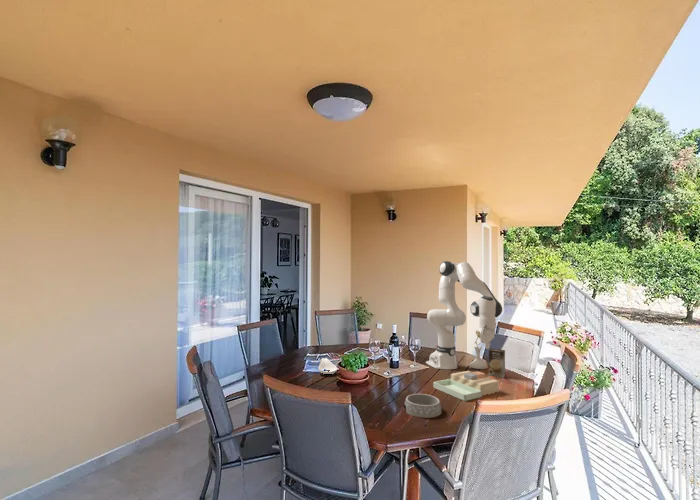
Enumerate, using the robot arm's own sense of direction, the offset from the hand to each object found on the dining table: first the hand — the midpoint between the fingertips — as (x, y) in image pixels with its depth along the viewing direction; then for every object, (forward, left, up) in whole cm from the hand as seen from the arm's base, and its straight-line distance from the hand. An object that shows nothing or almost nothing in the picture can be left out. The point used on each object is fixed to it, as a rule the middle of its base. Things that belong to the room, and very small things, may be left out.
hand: (487, 348), depth 218 cm
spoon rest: (-69, -71, -22) cm, 102 cm away
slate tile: (0, -14, -15) cm, 21 cm away
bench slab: (0, -12, -21) cm, 24 cm away
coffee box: (-10, +19, -21) cm, 31 cm away
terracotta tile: (0, -8, -15) cm, 17 cm away
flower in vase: (-28, +22, -21) cm, 42 cm away
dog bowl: (+11, -58, -22) cm, 62 cm away
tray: (0, -25, -21) cm, 33 cm away
